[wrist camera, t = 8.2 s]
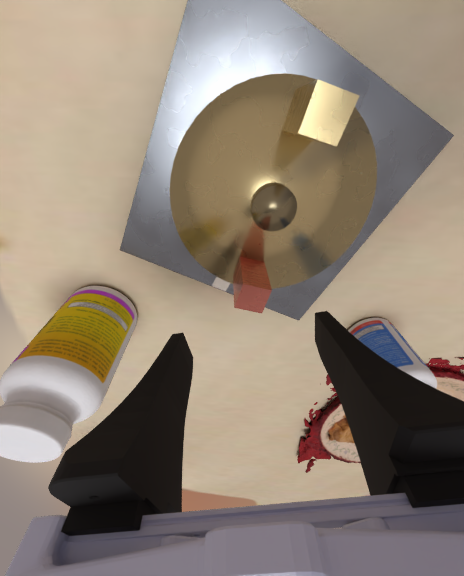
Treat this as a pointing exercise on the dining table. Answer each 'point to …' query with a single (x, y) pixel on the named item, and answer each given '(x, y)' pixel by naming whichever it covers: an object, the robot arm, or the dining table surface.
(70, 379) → the supplement bottle
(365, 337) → the pill bottle
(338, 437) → the plate with food
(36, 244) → the dining table surface
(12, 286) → the dining table surface
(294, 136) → the brass cymbal
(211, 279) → the cap plate
